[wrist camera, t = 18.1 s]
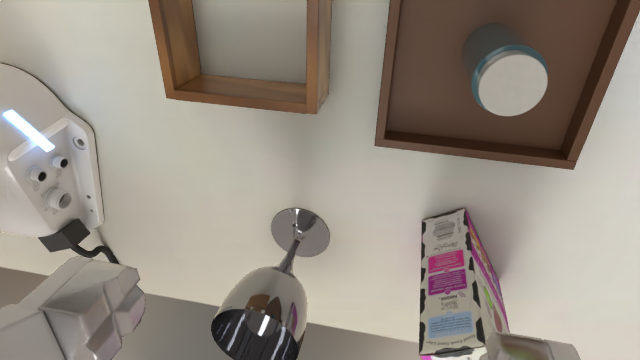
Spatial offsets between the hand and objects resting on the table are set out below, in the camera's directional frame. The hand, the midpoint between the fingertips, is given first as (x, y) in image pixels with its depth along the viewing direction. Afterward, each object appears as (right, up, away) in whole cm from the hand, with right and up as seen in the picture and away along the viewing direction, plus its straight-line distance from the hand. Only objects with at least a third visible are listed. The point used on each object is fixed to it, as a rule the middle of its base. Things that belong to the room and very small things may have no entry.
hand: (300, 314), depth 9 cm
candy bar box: (+16, -5, +34) cm, 37 cm away
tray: (+14, +13, +23) cm, 30 cm away
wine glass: (-2, -3, +37) cm, 37 cm away
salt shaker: (+14, +13, +22) cm, 29 cm away
